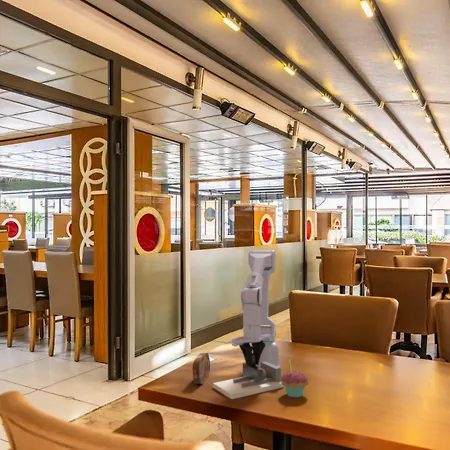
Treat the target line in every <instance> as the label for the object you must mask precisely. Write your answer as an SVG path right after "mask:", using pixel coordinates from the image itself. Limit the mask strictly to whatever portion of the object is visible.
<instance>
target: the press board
mask: <svg viewBox="0 0 450 450" xmlns="http://www.w3.org/2000/svg"><path fill="white" fill-rule="evenodd" d="M260 363H261V368H262V369H264V370H265V372H266V377H265V379H263V381H262V382H256V381H254V380H252V379H250V378H248V377H246V376H241V377H236V378H235V377H234V378H231V379H226V380H220V381H217V382H213V383H212V387H213V389H214V390H216V391H218V392H220V393H221V394H223V395H224V396H225V397H227V398H229V399H231V400H234V399H235V400H236V399H239V398H243V397H248V396H251V395H257V394H260V393H264V392H268V391H273V390H277V389H281V388H285V386H284V385H282V383H281V378H282V369H281V366H280V367H278V366H275V365H273V364H271V363H269V362H266V361H263V362H260Z"/></svg>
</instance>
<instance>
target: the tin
mask: <svg viewBox="0 0 450 450" xmlns="http://www.w3.org/2000/svg"><path fill="white" fill-rule="evenodd" d="M210 371H211V359H210V355H209V353H208V352H204V353H203V352H201V353H199V354H198V355H197V356H196V357H195V359H194V360H193V363H192V379H193V380H192V381H193V383H194V384H196V385H203V384H204V383H205V382H206V380H207V379H208V378H209V376H210Z"/></svg>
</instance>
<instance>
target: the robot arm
mask: <svg viewBox="0 0 450 450" xmlns="http://www.w3.org/2000/svg"><path fill="white" fill-rule="evenodd" d="M247 256H248V257H247V259H248V260H247V261H248V265H249V267H250V270H251V273H250V274H249V275H248V276H247V279H246V282H245V287H244V289H241V291H240V302H241V310H242V324H243V330H242V331H243V335H242V336H240V337H237V338H233V339H231V346H232V347H239V348H240V350H241V353H242V354H243V358H244V360H245V361H244V363H245V362H246V365H247V366H251V356H252V353H255V354H256V366H257V367H259V368H261V363H260V362H263V361H266V362H269V363H271V364H273V365H275V366H278V367H280V368H281V365H280V359H279V357H280V355H279V347H278V344H277V343H276V339H277V337H276V336H277V334H276V333H277V331H276V323H275V321H274V320H273V319H271V318H270V317H269V303H270V302H269V300H270V297H269V296H270V277H271V274H274V273H275V270H276V261H277V260H276V258H277V257H276V251H275V250H274V249H272V250H268V249H267V250H264V249H263V250H258V249H257V250H255V249H254V250H253V249H250V250H249V252H248V254H247Z"/></svg>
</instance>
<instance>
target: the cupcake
mask: <svg viewBox="0 0 450 450" xmlns="http://www.w3.org/2000/svg"><path fill="white" fill-rule="evenodd" d="M287 361H288V366H289V371H288V372H285V373H284V374H282V375H281V383H282V385H284V389H285V392H286V395H287V396H288V397H289V398H290V397H291V398H300V397H302V396H303V393H304V390H305V388H306V387H307V386H309V379H308V377H307V376H306V375H305V374H304V373H303V372H301V371H297V370H295V371H294V370H293V369H292V362H291V359H290V358H288V360H287Z"/></svg>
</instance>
